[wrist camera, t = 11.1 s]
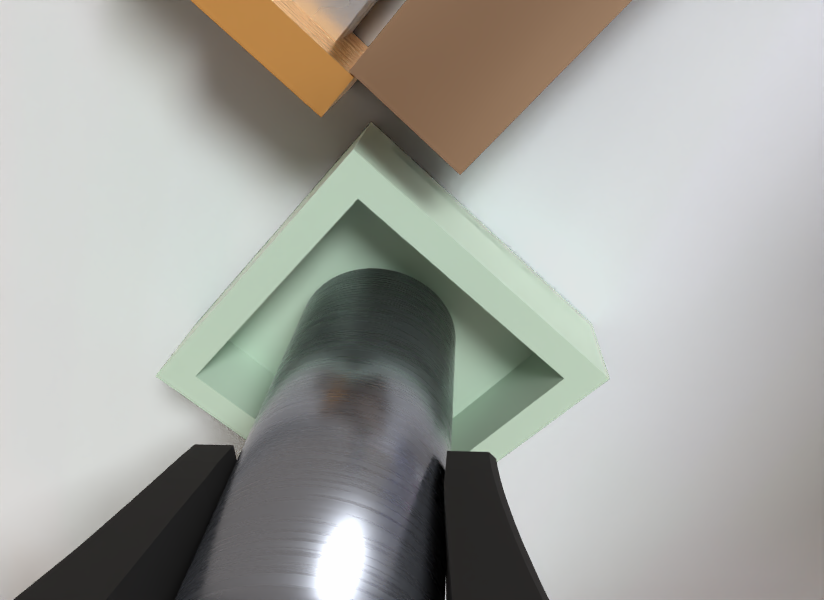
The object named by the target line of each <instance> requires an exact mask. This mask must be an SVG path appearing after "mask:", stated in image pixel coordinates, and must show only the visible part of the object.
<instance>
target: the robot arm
mask: <svg viewBox="0 0 824 600" xmlns="http://www.w3.org/2000/svg"><path fill="white" fill-rule="evenodd" d="M236 462H237V460H236V455H235V451H234V446H233V445H194V446H193V447H191V448H190V449H189V450H188V451H187V452H185V453H184V454H183V455H182V456H181V457H180V458H178V459H177V460H176V461H175V462H174V463H173V464H172V465H171V466H169V467H168V468H167V469H166V470H165V471H164V472H163V473H162V474H161V475H159V476H158V477H157V478H156V479H155V480H154V481H153V482H152V483H151V484H149V485H148V486H147V487H146V488H145V489H144V490H143V491H142V492H141V493H139V494H138V495H137V496H136V497H135V498H134V499H133V500H132V501H131V502H129V503H128V504H127V505H126V506H125V507H124V508H123V509H121V510H120V511H119V512H118V513H117V514H116V515H115V516H113V517H112V518H111V519H110V520H109V521H108V522H107V523H105V524H104V525H103V526H102V527H101V528H100V529H99V530H97V531H96V532H95V533H94V534H93V535H92V536H90V537H89V538H88V539H87V540H86V541H85V542H84V543H82V544H81V545H80V546H79V547H78V548H77V549H75V550H74V551H73V552H72V553H70V554H69V555H68V556H67V557H66V558H64V559H63V560H62V561H61V562H59V563H58V564H57V565H56V566H54V567H53V568H52V569H51V570H49V571H48V572H47V573H46V574H45V575H43V576H42V577H41V578H40V579H38V580H37V581H36V582H35V583H33V584H32V585H31V586H30V587H28V588H27V589H26V590H25V591H24V592H22V593H21V594H20V595H19V596H17V597H16V598H15V599H14V600H175V598H176V596H177V594H178V591H179V589H180V587H181V585H182V582H183V580H184V578H185V576H186V574H187V571H188V569H189V567H190V565H191V562H192V560H193V558H194V556H195V553H196V551H197V549H198V547H199V544H200V542H201V540H202V538H203V535H204V533H205V531H206V529H207V527H208V524H209V522H210V520H211V518H212V515H213V513H214V511H215V509H216V506H217V504H218V502H219V500H220V497H221V495H222V493H223V491H224V489H225V486H226V484H227V482H228V480H229V477H230V475H231V473H232V471H233V468H234V466H235V464H236ZM444 514H445V544H446V600H549V599H548V597H547V595H546V593H545V591H544V588H543V586H542V584H541V582H540V580H539V578H538V575H537V573H536V571H535V569H534V567H533V564H532V562H531V560H530V558H529V555H528V553H527V551H526V549H525V547H524V544H523V542H522V539H521V537H520V535H519V532H518V530H517V527H516V525H515V522H514V519H513V516H512V514H511V511H510V508H509V505H508V503H507V500H506V497H505V493H504V490H503V487H502V483H501V480H500V476H499V472H498V467H497V461H496V458H495V457H494V456H493V455H492V454H491V453H490V452H475V451H447V456H446V467H445V479H444Z"/></svg>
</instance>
